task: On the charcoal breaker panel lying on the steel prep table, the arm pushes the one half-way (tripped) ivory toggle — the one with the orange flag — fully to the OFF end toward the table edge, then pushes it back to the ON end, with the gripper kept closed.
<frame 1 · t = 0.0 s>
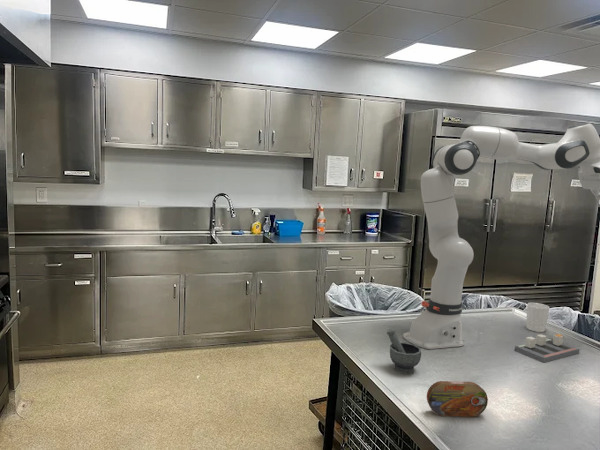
mortar and pestle: (401, 369, 141), on the table
tin: (455, 414, 116), on the table
panel: (546, 351, 160), on the table
breaker 3: (558, 339, 162), point 4 cm above the table, slide at 0.0 cm
breaker 2: (541, 340, 162), point 4 cm above the table, slide at 2.5 cm
breaker 1: (530, 342, 159), point 4 cm above the table, slide at 2.5 cm
white cup: (535, 329, 184), on the table
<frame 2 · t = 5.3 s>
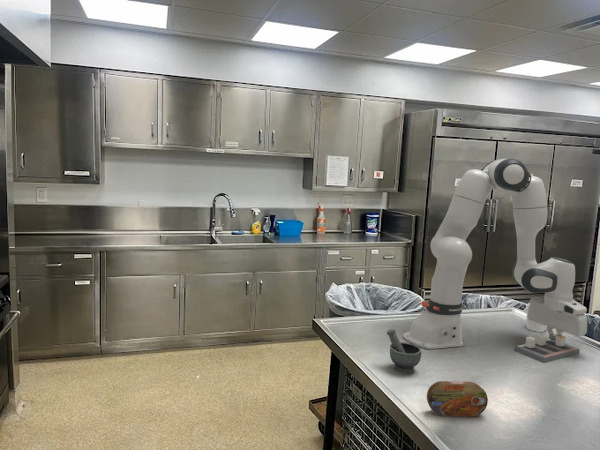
hand: (553, 339, 164), 3 cm above the table, tool pointing down, fingers closed
breaker 3: (560, 340, 161), point 4 cm above the table, slide at -1.0 cm, touching gripper
everything else where it was.
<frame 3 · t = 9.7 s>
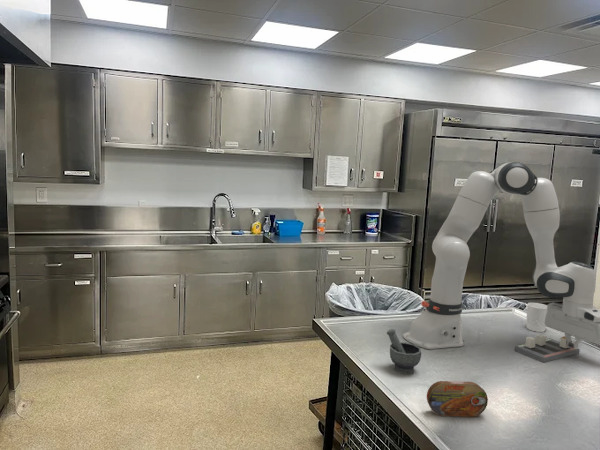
hand: (572, 347, 158), 3 cm above the table, tool pointing down, fingers closed
breaker 3: (564, 342, 160), point 4 cm above the table, slide at -2.5 cm, touching gripper
everything else where it was.
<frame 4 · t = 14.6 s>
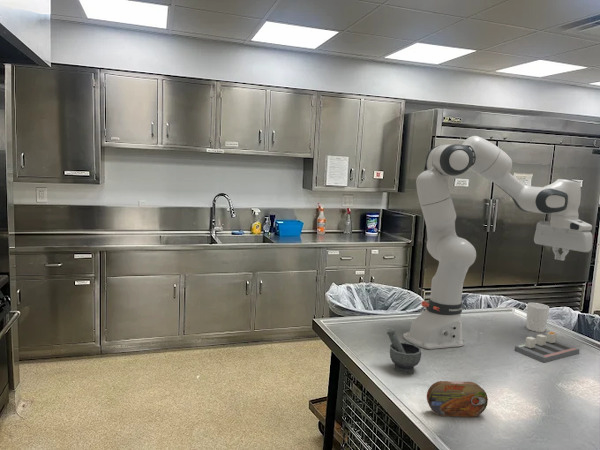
hand: (559, 259, 168), 31 cm above the table, tool pointing down, fingers closed
breaker 3: (551, 337, 164), point 4 cm above the table, slide at 2.5 cm
everything else where it was.
at the end: breaker 3 slide at 2.5 cm; breaker 1 slide at 2.5 cm; breaker 2 slide at 2.5 cm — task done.
